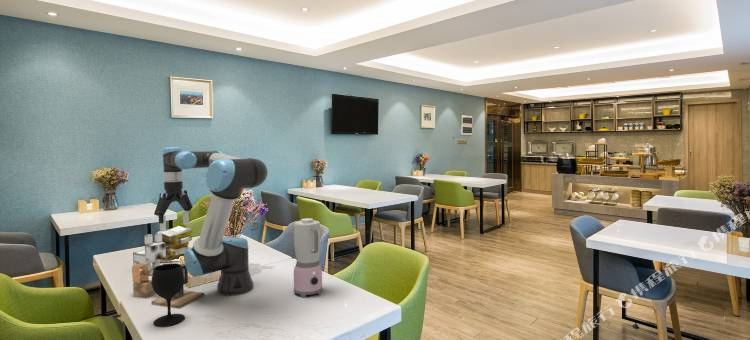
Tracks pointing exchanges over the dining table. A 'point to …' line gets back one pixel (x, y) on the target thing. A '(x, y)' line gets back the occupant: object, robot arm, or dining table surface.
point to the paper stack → (176, 242)
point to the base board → (180, 299)
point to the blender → (307, 257)
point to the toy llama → (151, 251)
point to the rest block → (143, 289)
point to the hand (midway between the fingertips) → (175, 227)
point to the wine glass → (168, 290)
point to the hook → (141, 273)
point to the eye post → (185, 272)
